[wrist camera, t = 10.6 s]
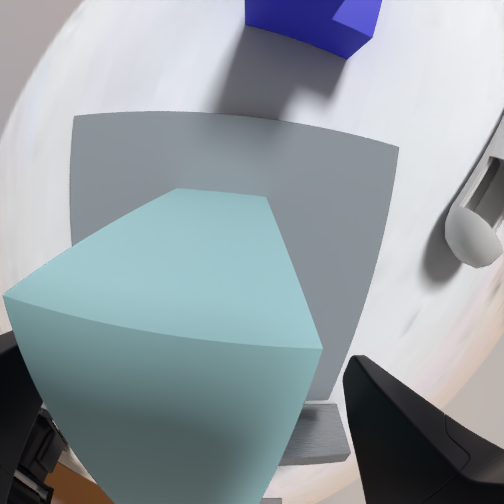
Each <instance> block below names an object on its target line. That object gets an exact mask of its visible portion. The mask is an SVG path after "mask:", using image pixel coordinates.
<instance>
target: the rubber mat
mask: <svg viewBox="0 0 504 504" xmlns="http://www.w3.org/2000/svg"><path fill="white" fill-rule="evenodd" d="M398 152H399V147H397V146H394V145H390V144H387V143H383V142H380V141H376V140H372V139H368V138H365V137H361V136H357V135H352V134H348V133H344V132H339V131H335V130H330V129H325V128H320V127H315V126H310V125H304V124H299V123H293V122H287V121H280V120H273V119H266V118H258V117H249V116H240V115H229V114H216V113H200V112H171V111H145V112H117V113H101V114H89V115H79V116H74V121H73V130H72V142H71V156H70V226H71V241H72V246H74V245H75V244H77V243H79V242H80V241H82V240H83V239H85V238H87V237H88V236H90V235H92V234H93V233H95V232H97V231H98V230H100V229H102V228H103V227H105V226H107V225H109V224H110V223H112V222H114V221H116V220H117V219H119V218H121V217H123V216H125V215H126V214H128V213H130V212H132V211H134V210H135V209H137V208H139V207H141V206H143V205H145V204H147V203H149V202H150V201H152V200H154V199H156V198H158V197H160V196H162V195H164V194H166V193H168V192H170V191H172V190H174V189H176V188H182V189H194V190H206V191H217V192H227V193H236V194H246V195H255V196H263V197H266V198H267V200H268V203H269V205H270V208H271V210H272V213H273V215H274V218H275V221H276V223H277V226H278V228H279V231H280V233H281V236H282V238H283V241H284V244H285V246H286V249H287V251H288V254H289V257H290V259H291V262H292V265H293V267H294V270H295V272H296V275H297V278H298V280H299V283H300V286H301V289H302V291H303V294H304V297H305V299H306V302H307V305H308V308H309V310H310V313H311V316H312V319H313V322H314V324H315V327H316V330H317V333H318V336H319V339H320V341H321V344H322V347H323V350H322V353H321V356H320V359H319V362H318V365H317V368H316V371H315V374H314V377H313V380H312V383H311V385H310V388H309V391H308V394H307V396H306V399H305V400H328V398H329V396H330V394H331V392H332V389H333V387H334V385H335V382H336V380H337V378H338V375H339V373H340V370H341V368H342V365H343V363H344V360H345V358H346V355H347V352H348V350H349V347H350V344H351V342H352V339H353V336H354V333H355V330H356V328H357V325H358V322H359V319H360V316H361V313H362V310H363V307H364V303H365V300H366V297H367V294H368V290H369V287H370V284H371V280H372V277H373V273H374V270H375V266H376V262H377V258H378V254H379V251H380V247H381V242H382V238H383V234H384V230H385V225H386V221H387V216H388V211H389V206H390V201H391V196H392V190H393V185H394V179H395V173H396V166H397V159H398Z"/></svg>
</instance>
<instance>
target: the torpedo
mask: <svg viewBox="0 0 504 504" xmlns="http://www.w3.org/2000/svg"><path fill="white" fill-rule="evenodd" d="M494 157H495V158H497V159H498V161H499V162H500V167H499V169H498V171H497V172H496V174H495V176H494V178H493V180H492V181H491V183H490V185H489V187H488V188H487V190H486V192H485V194H484V195H483V197H482V199H481V200H480V202H479V203H478V205H477V207H476V208H475V210H474V211H471V210H469V209H467V208H465V206H466V205H467V203H468V202H469V200H470V198H471V197H472V195H473V194H474V192H475V190H476V189H477V187H478V186H479V184H480V182H481V181H482V179H483V177H484V175H485V174H486V172H487V170H488V168H489V167H490V165H491V163H492V161H493V159H494ZM503 220H504V116H503V118H502V120H501V122H500V124H499V126H498V128H497V130H496V132H495V134H494V136H493V138H492V140H491V142H490V144H489V145H488V147H487V149H486V151H485V153H484V154H483V156H482V158H481V160H480V161H479V163H478V165H477V167H476V168H475V170H474V172H473V173H472V175H471V176H470V178H469V180H468V181H467V183H466V184H465V186H464V188H463V189H462V191H461V192H460V194H459V195H458V197H457V198H456V200H455V201H454V203H453V204H452V206H451V208H450V210H449V213H448V216H447V218H446V221H445V239H446V241H447V243H448V245H449V247H450V249H451V250H452V252H453V253H454V255H455V256H456V258H457V259H459V260H460V261H462V262H463V263H465V264H467V265H470V266H472V267H474V268H480V267H484V266H488V265H490V264H492V263H493V262H494V261H495V260H496V259H497V258H498V257H499V256H500V255H501V254H502V253H503V250H502V246H501V243H500V241H499V239H498V237H497V235H496V234H495V233H496V231H497V230H498V228H499V226H500V225H501V223H502V221H503Z"/></svg>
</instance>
